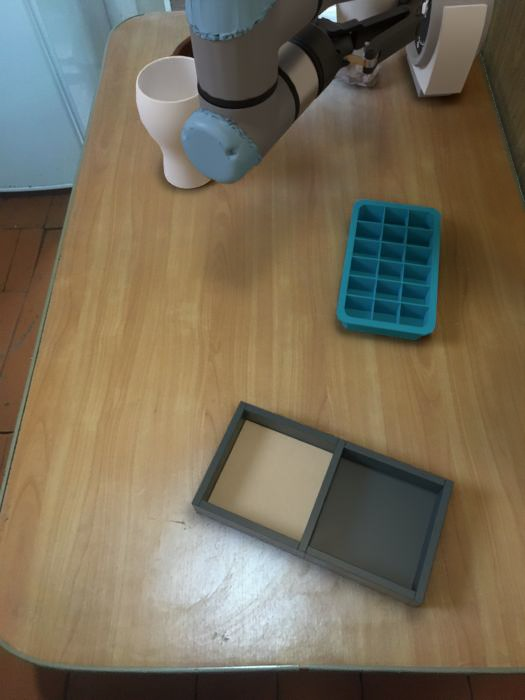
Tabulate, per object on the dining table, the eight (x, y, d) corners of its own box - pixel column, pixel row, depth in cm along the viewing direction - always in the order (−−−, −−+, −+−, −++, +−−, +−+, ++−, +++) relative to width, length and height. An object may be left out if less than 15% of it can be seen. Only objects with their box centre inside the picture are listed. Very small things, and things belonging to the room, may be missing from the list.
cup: (147, 193, 81) (121, 102, 68) (163, 143, 86) (142, 50, 73) (218, 199, 80) (206, 108, 67) (230, 148, 85) (221, 55, 72)
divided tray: (444, 491, 58) (454, 481, 55) (414, 607, 53) (422, 604, 50) (242, 413, 63) (240, 400, 60) (195, 512, 58) (190, 503, 55)
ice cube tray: (436, 224, 76) (441, 208, 74) (428, 348, 67) (434, 335, 64) (352, 213, 78) (354, 198, 75) (332, 334, 68) (335, 321, 65)
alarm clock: (393, 45, 97) (419, -92, 79) (442, 42, 97) (478, -95, 79) (413, 112, 88) (447, -25, 70) (466, 109, 88) (513, -29, 70)
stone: (379, 92, 90) (385, 58, 85) (319, 92, 91) (320, 58, 86) (378, 62, 94) (383, 28, 89) (319, 62, 95) (321, 28, 90)
